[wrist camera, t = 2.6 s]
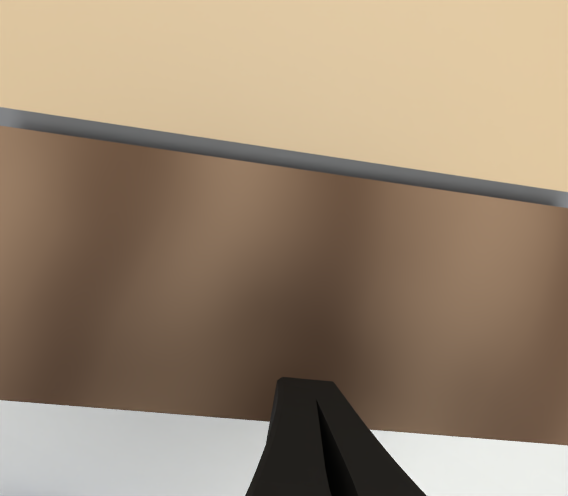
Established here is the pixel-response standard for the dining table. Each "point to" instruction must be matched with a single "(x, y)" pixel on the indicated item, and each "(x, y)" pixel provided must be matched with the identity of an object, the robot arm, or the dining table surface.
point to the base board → (307, 85)
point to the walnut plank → (276, 291)
